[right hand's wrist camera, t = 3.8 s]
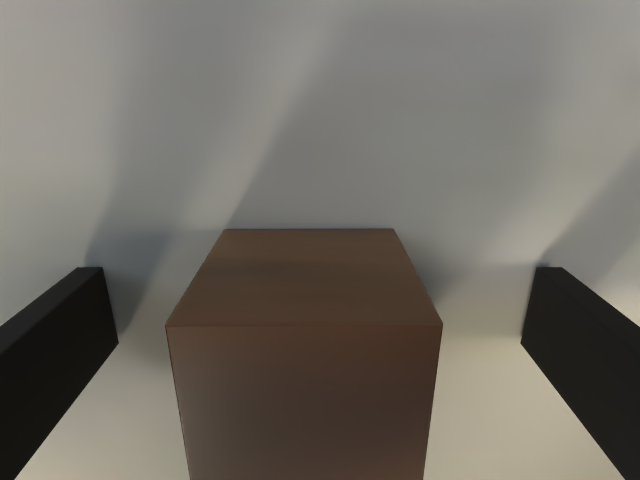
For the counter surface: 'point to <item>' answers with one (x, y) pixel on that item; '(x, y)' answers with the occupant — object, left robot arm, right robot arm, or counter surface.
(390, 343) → the walnut cube
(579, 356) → the right robot arm
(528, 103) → the counter surface
